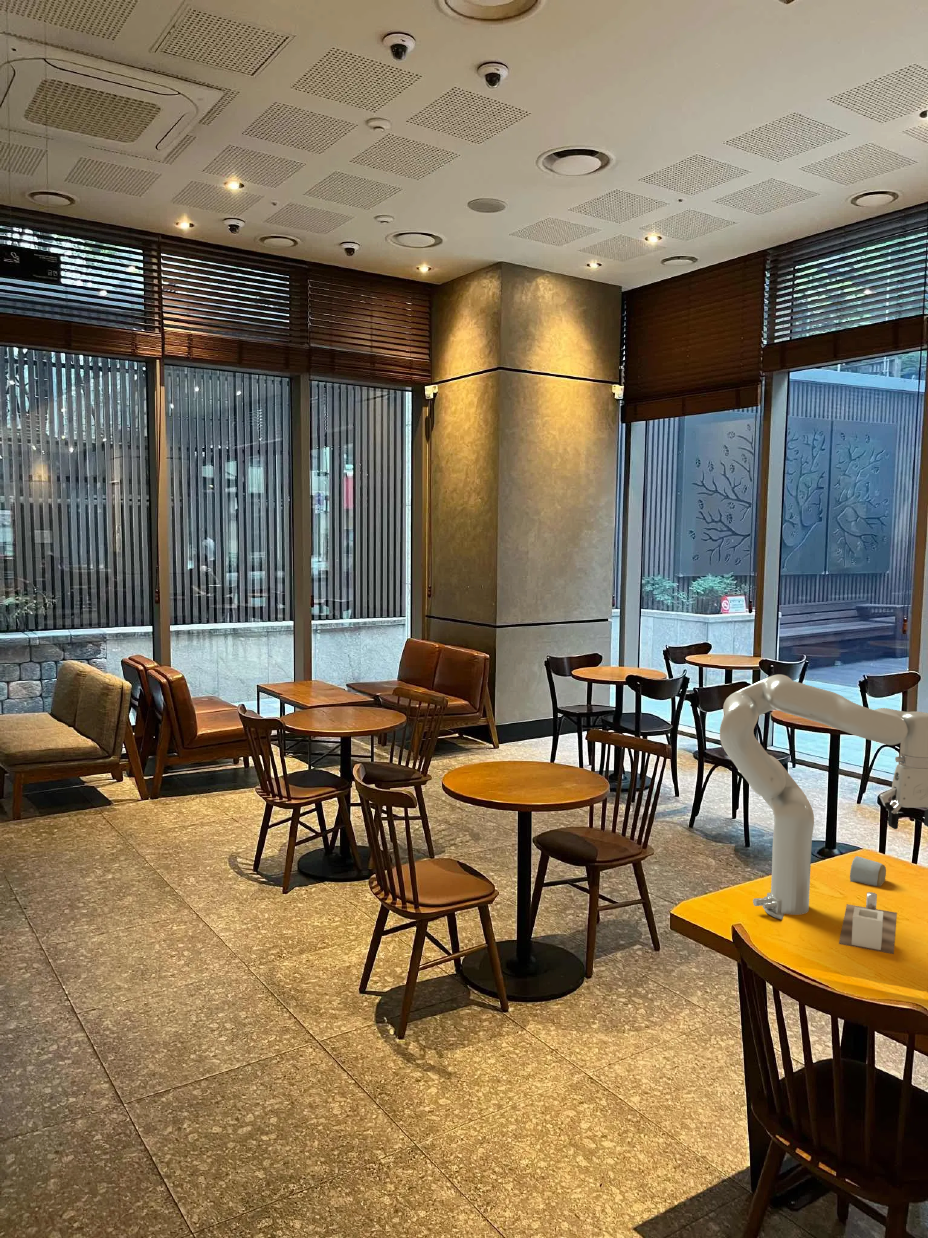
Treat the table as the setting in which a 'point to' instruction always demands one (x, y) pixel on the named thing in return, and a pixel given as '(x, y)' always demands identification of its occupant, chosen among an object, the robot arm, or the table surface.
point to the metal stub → (871, 901)
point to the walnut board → (887, 930)
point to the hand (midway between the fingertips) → (910, 827)
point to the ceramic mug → (867, 872)
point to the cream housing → (867, 928)
